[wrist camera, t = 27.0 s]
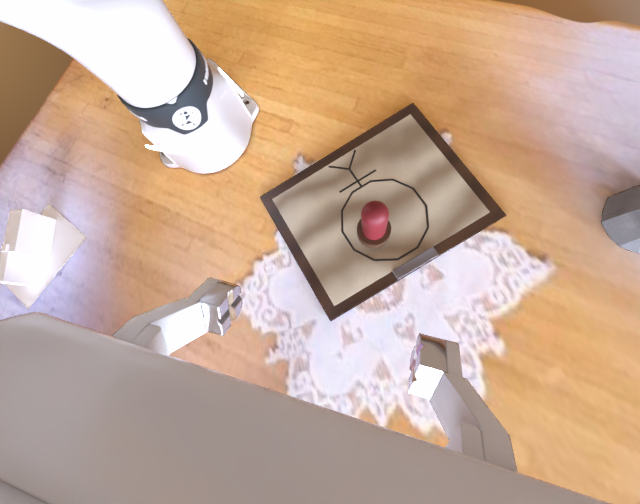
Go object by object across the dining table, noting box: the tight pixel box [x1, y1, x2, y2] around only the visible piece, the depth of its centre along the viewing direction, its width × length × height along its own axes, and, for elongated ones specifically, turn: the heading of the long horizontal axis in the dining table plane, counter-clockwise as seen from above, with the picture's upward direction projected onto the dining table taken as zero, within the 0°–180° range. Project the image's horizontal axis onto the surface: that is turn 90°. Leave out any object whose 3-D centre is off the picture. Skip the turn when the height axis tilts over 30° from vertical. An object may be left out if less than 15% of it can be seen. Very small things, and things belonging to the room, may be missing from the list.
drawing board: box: [260, 103, 506, 321], centre depth 44 cm, size 22×28×1 cm
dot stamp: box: [357, 201, 391, 248], centre depth 38 cm, size 5×5×10 cm
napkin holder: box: [0, 204, 87, 309], centre depth 49 cm, size 15×11×6 cm
